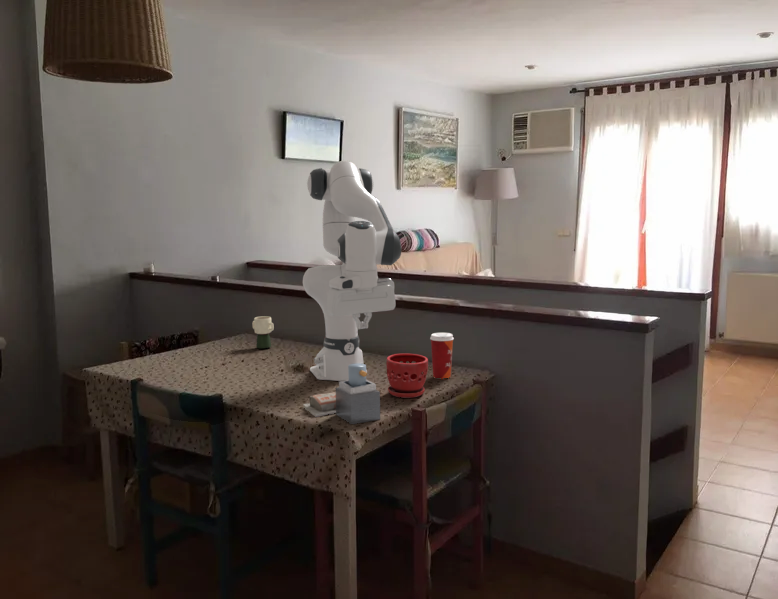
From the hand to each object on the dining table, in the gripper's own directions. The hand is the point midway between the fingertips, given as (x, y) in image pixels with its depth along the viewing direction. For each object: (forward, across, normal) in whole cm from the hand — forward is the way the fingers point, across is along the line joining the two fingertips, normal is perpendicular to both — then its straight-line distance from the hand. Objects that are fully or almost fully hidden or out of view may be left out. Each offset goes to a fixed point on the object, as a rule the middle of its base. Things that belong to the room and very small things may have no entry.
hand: (362, 328), depth 190 cm
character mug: (+27, -3, -99) cm, 103 cm away
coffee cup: (+26, -41, -22) cm, 54 cm away
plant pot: (+26, -20, -10) cm, 34 cm away
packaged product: (+26, +4, -9) cm, 28 cm away
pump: (+17, +3, +2) cm, 17 cm away
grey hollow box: (+25, +3, +2) cm, 25 cm away
